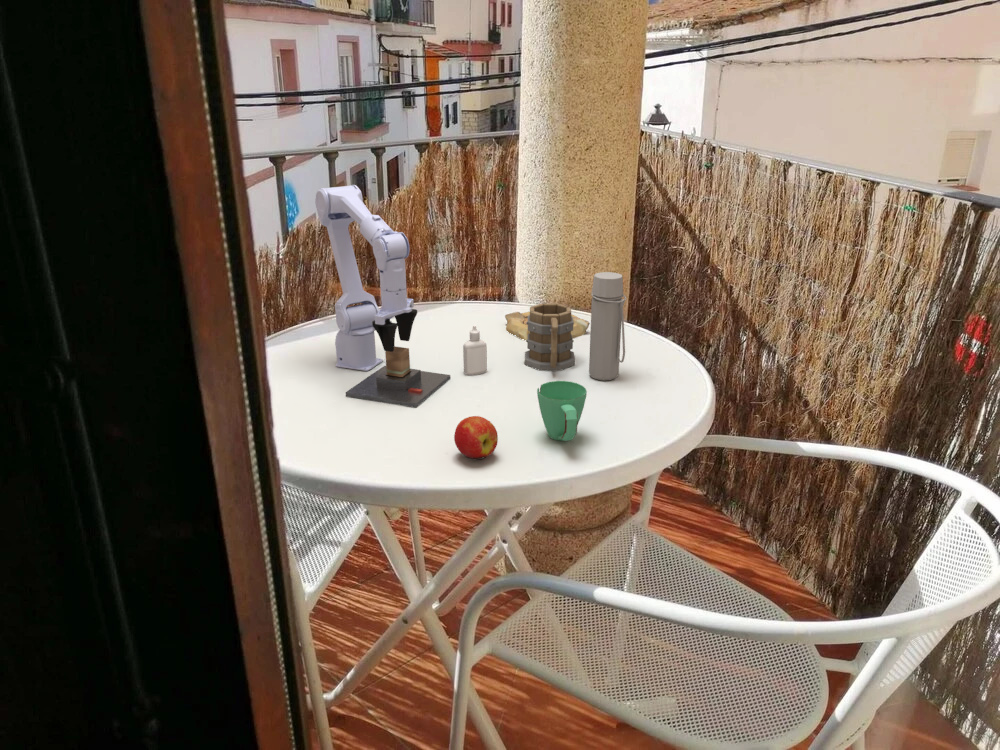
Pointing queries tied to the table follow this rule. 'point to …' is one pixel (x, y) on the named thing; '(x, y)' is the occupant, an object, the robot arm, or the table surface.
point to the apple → (476, 437)
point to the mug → (561, 408)
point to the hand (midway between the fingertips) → (397, 345)
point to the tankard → (550, 337)
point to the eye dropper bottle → (475, 354)
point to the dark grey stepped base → (399, 387)
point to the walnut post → (398, 362)
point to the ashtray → (520, 329)
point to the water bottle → (606, 326)
